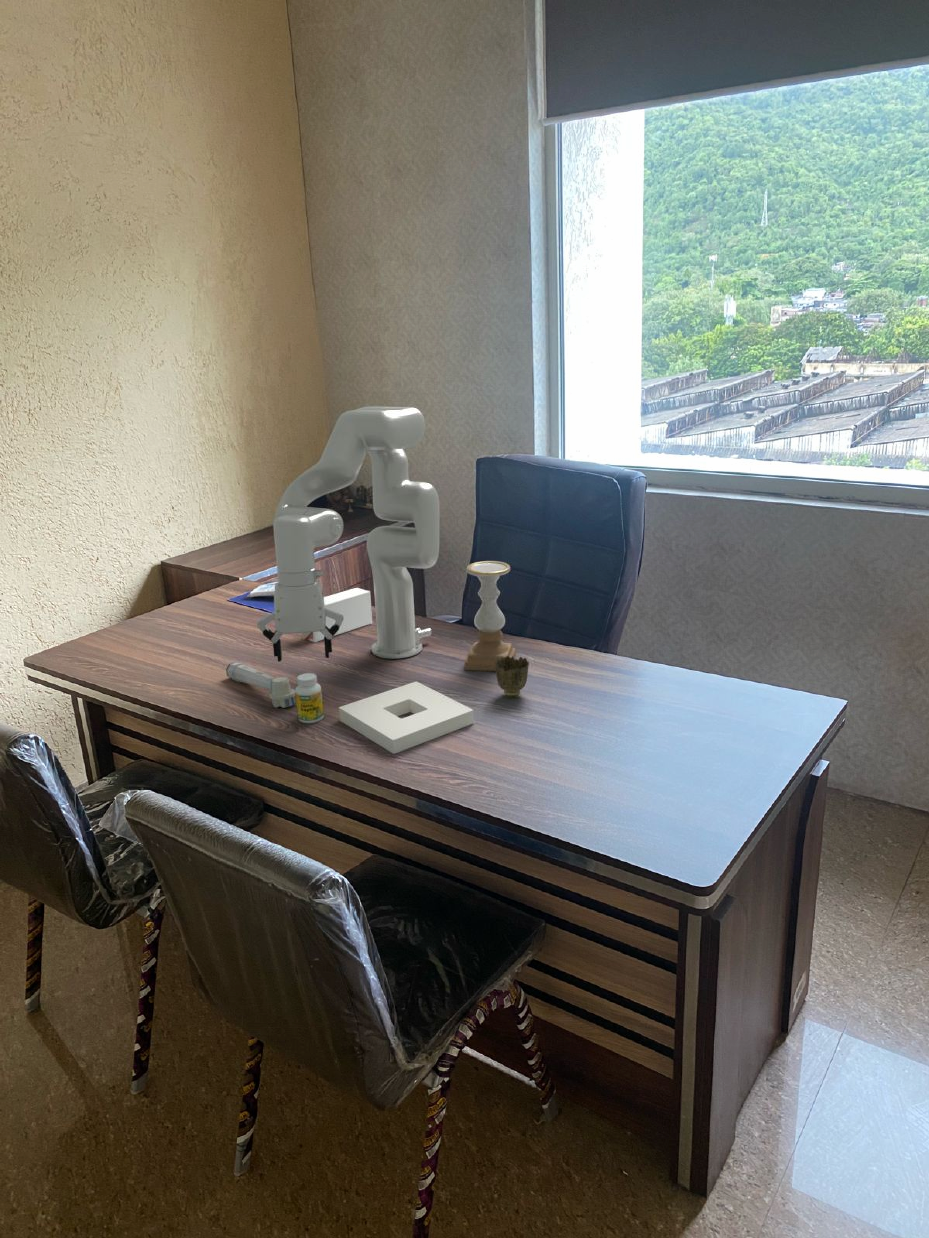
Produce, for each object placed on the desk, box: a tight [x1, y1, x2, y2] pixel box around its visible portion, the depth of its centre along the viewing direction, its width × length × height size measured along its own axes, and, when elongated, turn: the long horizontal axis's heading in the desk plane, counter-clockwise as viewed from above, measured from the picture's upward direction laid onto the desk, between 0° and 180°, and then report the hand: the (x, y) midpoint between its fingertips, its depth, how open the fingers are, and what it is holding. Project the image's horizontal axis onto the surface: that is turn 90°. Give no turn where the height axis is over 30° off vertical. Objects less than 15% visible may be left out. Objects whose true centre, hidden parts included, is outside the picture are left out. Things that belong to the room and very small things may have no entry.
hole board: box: [338, 680, 475, 755], centre depth 189 cm, size 20×20×3 cm
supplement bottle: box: [294, 672, 325, 724], centre depth 191 cm, size 5×5×10 cm
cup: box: [494, 656, 530, 699], centre depth 199 cm, size 8×7×8 cm
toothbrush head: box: [225, 662, 296, 709], centre depth 206 cm, size 5×7×25 cm
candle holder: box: [464, 560, 517, 672], centre depth 215 cm, size 11×11×24 cm
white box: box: [302, 587, 373, 643], centre depth 241 cm, size 20×6×9 cm, turn 135°
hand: (303, 657), depth 188 cm, fingers open, 9 cm apart
